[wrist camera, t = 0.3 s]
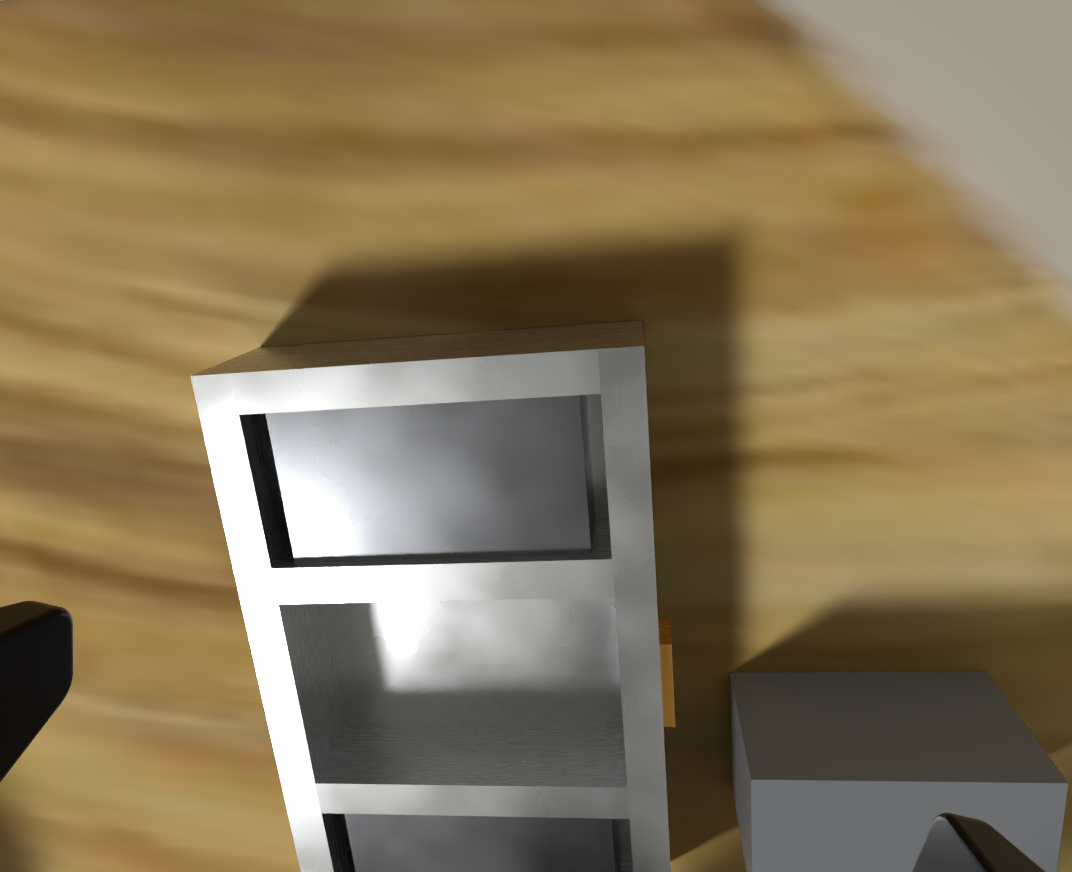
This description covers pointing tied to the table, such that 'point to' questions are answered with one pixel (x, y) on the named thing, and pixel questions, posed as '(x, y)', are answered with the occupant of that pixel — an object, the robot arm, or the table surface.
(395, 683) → the rack
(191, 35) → the table surface
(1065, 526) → the table surface
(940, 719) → the grey upright box
